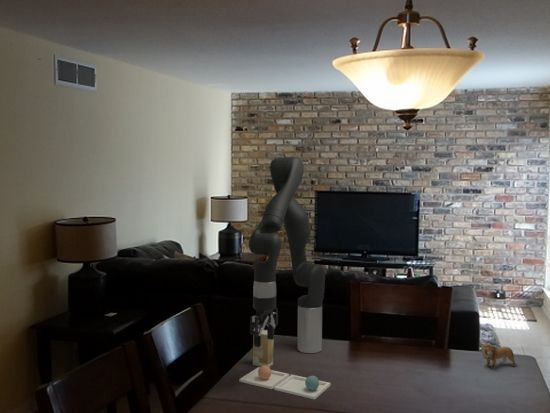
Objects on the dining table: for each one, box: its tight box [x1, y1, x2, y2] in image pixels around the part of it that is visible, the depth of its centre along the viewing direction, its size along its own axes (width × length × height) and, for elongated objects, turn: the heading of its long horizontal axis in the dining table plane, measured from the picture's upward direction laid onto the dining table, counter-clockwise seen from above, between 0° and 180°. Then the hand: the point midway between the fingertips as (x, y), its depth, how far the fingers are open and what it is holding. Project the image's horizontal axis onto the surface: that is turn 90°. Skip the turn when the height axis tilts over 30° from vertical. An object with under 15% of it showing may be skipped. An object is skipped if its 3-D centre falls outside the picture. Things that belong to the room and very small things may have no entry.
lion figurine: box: [481, 342, 516, 370], centre depth 198 cm, size 15×5×9 cm, turn 113°
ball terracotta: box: [258, 365, 272, 379], centre depth 185 cm, size 4×4×4 cm
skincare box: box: [252, 329, 275, 368], centre depth 198 cm, size 6×4×12 cm
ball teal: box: [305, 375, 320, 390], centre depth 177 cm, size 4×4×4 cm
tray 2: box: [273, 374, 332, 400], centre depth 178 cm, size 12×14×1 cm
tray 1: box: [238, 366, 290, 390], centre depth 185 cm, size 12×12×1 cm
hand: (264, 342), depth 184 cm, fingers open, 8 cm apart
